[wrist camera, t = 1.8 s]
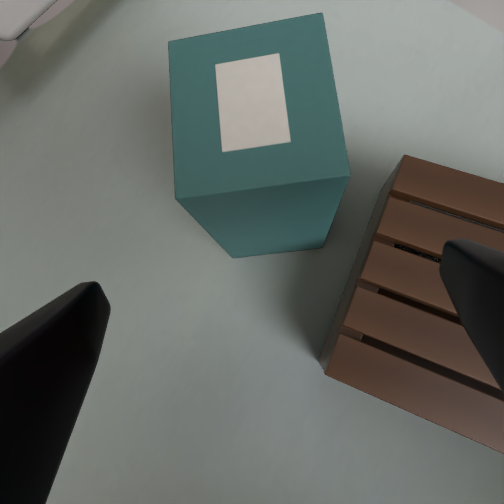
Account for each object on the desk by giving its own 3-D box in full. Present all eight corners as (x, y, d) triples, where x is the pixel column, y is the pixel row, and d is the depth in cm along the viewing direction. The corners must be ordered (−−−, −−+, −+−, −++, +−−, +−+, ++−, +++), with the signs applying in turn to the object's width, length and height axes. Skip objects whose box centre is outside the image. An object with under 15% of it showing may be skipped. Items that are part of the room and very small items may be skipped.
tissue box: (322, 248, 21) (351, 174, 11) (232, 258, 22) (173, 198, 11) (309, 156, 23) (323, 9, 12) (224, 168, 23) (166, 39, 13)
